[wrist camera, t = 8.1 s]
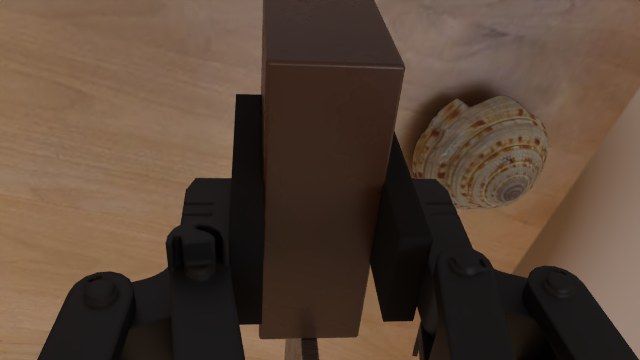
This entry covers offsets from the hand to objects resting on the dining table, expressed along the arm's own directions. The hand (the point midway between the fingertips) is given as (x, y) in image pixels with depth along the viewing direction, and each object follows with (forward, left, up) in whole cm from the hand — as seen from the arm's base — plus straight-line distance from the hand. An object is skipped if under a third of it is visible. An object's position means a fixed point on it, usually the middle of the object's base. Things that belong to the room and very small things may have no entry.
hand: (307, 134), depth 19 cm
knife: (-7, 0, -1) cm, 7 cm away
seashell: (-10, -12, -14) cm, 21 cm away
